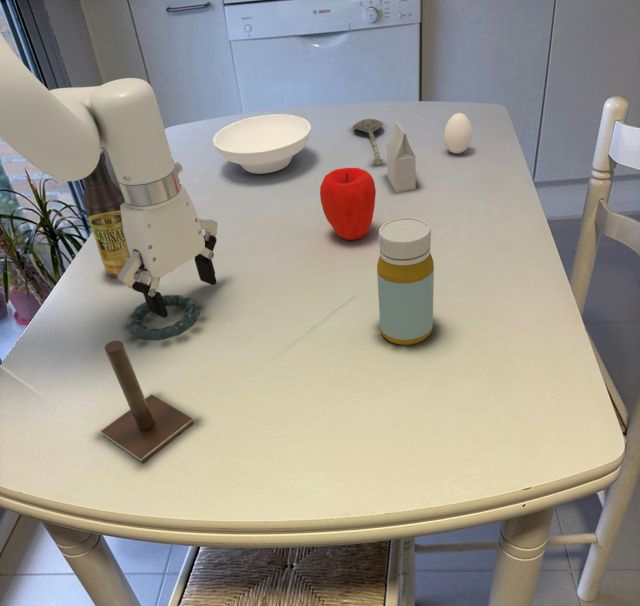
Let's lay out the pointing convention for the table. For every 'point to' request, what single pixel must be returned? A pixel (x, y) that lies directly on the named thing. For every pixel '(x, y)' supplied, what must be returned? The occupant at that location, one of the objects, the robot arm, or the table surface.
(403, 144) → the milk carton
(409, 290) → the bottle
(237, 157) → the bowl
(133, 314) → the ring
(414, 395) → the table surface
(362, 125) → the soupspoon
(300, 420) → the table surface
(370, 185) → the apple
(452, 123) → the egg
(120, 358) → the peg stand
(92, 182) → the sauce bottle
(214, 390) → the table surface
